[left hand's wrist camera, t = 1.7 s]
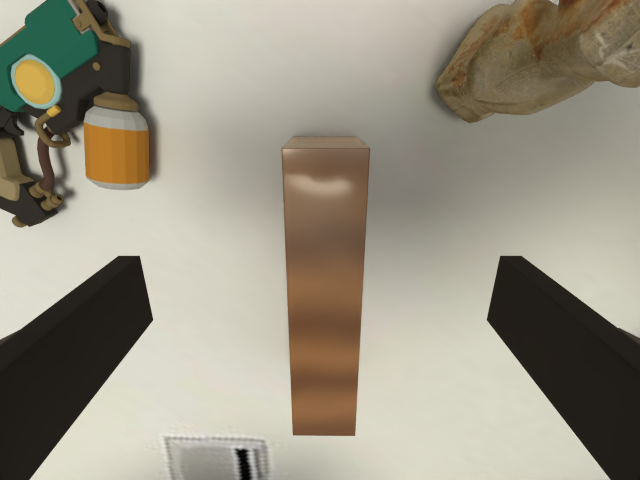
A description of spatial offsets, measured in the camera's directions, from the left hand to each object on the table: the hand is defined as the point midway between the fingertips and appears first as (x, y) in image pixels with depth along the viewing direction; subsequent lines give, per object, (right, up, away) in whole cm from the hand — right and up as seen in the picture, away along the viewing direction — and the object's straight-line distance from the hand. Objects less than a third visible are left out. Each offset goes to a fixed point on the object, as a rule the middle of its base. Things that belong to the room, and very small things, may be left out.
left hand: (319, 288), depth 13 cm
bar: (0, -1, +19) cm, 19 cm away
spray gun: (-21, +11, +15) cm, 28 cm away
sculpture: (+12, +15, +13) cm, 23 cm away
